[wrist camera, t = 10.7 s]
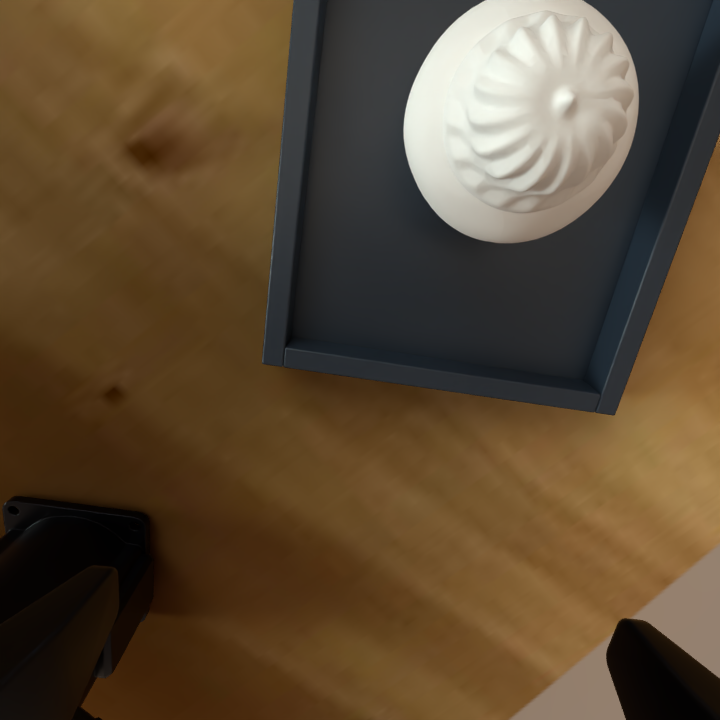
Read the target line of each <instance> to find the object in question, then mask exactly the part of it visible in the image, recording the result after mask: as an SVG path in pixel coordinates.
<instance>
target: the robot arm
mask: <svg viewBox="0 0 720 720" xmlns="http://www.w3.org/2000/svg"><path fill="white" fill-rule="evenodd" d="M16 507H17V508H18V509H17V508H16ZM3 516H4V524H5V532H6V534H5V535H4V536H3V537H2V538H1V539H0V720H102V719H100V718H99V717H98V718H94V717H93V716H92V715H90V714H89V713H88V712H87V711H85V710H84V709H83V708H82V707H81V705H82V703H83V702H84V700H85V698H86V696H87V695H88V693H89V691H90V689H91V687H92V686H93V684H94V682H95V680H96V679H97V677H99V678H107V677H108V676H109V675H111V674H112V673H113V672H114V670H115V668H116V666H117V664H118V662H119V661H120V659H121V657H122V655H123V653H124V651H125V649H126V647H127V646H128V644H129V642H130V640H131V638H132V636H133V634H134V633H135V631H136V629H137V627H138V625H139V623H140V622H142V621H144V620H145V618H146V616H147V614H148V612H149V605H150V603H151V601H152V599H153V577H154V560H153V558H152V556H151V555H150V554H149V518H148V517H147V516H146V515H145V514H143V513H141V512H137V511H129V510H121V509H114V508H106V507H98V506H91V505H83V504H75V503H68V502H60V501H53V500H45V499H37V498H30V497H22V496H14V497H12V498H11V499H9V500H8V501H7V502H6V503H5V504H4V505H3ZM134 522H137V523H138V524H139V525H137V524H135V523H134ZM606 659H607V665H608V668H609V671H610V674H611V677H612V680H613V683H614V686H615V689H616V692H617V695H618V697H619V701H620V703H621V706H622V709H623V712H624V715H625V718H626V720H720V678H718V677H717V676H716V675H714V674H713V673H711V671H709V670H708V669H707V668H706V667H704V666H703V665H702V664H700V663H699V662H698V661H697V660H695V659H694V658H693V657H692V656H690V655H689V654H688V653H686V652H685V651H684V650H683V649H681V648H680V647H679V646H677V645H676V644H675V643H674V642H672V641H671V640H670V639H669V638H667V637H666V636H665V635H663V634H662V633H661V632H660V631H658V630H657V629H656V628H655V627H653V626H652V625H651V624H649V623H648V622H646V621H643V620H637V619H627V618H624V619H622V620H620V621H619V622H618V624H617V626H616V629H615V631H614V634H613V636H612V639H611V641H610V644H609V646H608V649H607V653H606Z"/></svg>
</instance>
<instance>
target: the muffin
mask: <svg viewBox="0 0 720 720" xmlns="http://www.w3.org/2000/svg"><path fill="white" fill-rule="evenodd" d="M638 107H639V91H638V81H637V75H636V71H635V66H634V63H633V60H632V57H631V55H630V52H629V50H628V48H627V46H626V44H625V43H624V41H623V39H622V38H621V36H620V34H619V33H618V32H617V30H616V29H615V28H614V27H613V26H612V24H611V23H610V22H609V21H608V20H607V19H606V18H605V17H604V16H603V15H602V14H601V13H600V12H598V11H597V10H596V9H595V8H593V7H592V6H591V5H589V4H587V3H586V2H584V1H583V0H485V1H483V2H481V3H480V4H478V5H477V6H475V7H473V8H471V9H470V10H469V11H467V12H466V13H464V14H463V15H462V16H461V17H459V18H458V19H457V20H456V21H455V22H454V23H453V24H452V25H451V26H450V27H449V28H448V29H447V30H446V31H445V32H444V33H443V35H442V36H441V37H440V38H439V39H438V41H437V42H436V43H435V45H434V46H433V48H432V49H431V51H430V52H429V54H428V56H427V57H426V59H425V61H424V63H423V64H422V66H421V68H420V70H419V72H418V74H417V77H416V79H415V81H414V83H413V86H412V88H411V91H410V94H409V98H408V101H407V106H406V110H405V117H404V130H403V131H404V145H405V150H406V156H407V159H408V163H409V166H410V169H411V172H412V174H413V177H414V179H415V181H416V183H417V186H418V188H419V190H420V191H421V193H422V195H423V197H424V198H425V199H426V201H427V202H428V203H429V205H430V207H431V208H432V209H433V210H434V211H435V212H436V214H437V215H438V216H439V217H440V218H441V219H442V220H444V221H445V222H446V223H447V224H449V225H450V226H451V227H453V228H454V229H456V230H457V231H459V232H461V233H463V234H465V235H467V236H470V237H472V238H475V239H478V240H482V241H488V242H494V243H519V242H526V241H530V240H535V239H538V238H541V237H544V236H547V235H549V234H552V233H554V232H556V231H558V230H560V229H562V228H563V227H565V226H567V225H568V224H570V223H571V222H573V221H574V220H576V219H577V218H578V217H580V216H581V215H582V214H583V213H585V212H586V211H587V210H588V209H589V208H590V207H591V206H592V205H593V204H594V203H595V202H596V201H597V200H598V199H599V198H600V197H601V196H602V195H603V194H604V192H605V191H606V190H607V189H608V188H609V186H610V185H611V183H612V182H613V180H614V179H615V178H616V176H617V174H618V173H619V171H620V169H621V167H622V166H623V164H624V162H625V159H626V157H627V155H628V153H629V150H630V147H631V144H632V141H633V138H634V134H635V129H636V125H637V118H638Z"/></svg>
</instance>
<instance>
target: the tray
mask: <svg viewBox="0 0 720 720" xmlns="http://www.w3.org/2000/svg"><path fill="white" fill-rule="evenodd" d="M483 1H485V0H294V3H293V14H292V25H291V37H290V48H289V59H288V71H287V82H286V94H285V105H284V116H283V128H282V139H281V151H280V162H279V173H278V185H277V196H276V207H275V219H274V230H273V242H272V253H271V264H270V276H269V287H268V299H267V310H266V321H265V333H264V344H263V355H262V363H263V364H266V365H273V366H280V367H282V366H284V367H286V368H293V369H300V370H307V371H314V372H320V373H327V374H334V375H341V376H348V377H355V378H361V379H368V380H375V381H382V382H389V383H396V384H402V385H409V386H416V387H423V388H430V389H437V390H443V391H450V392H457V393H464V394H471V395H478V396H484V397H491V398H498V399H505V400H512V401H519V402H525V403H532V404H539V405H546V406H553V407H560V408H566V409H573V410H580V411H587V412H596V413H601V414H608V415H615V413H616V410H617V408H618V405H619V402H620V400H621V397H622V394H623V392H624V389H625V386H626V384H627V381H628V378H629V376H630V373H631V370H632V368H633V365H634V362H635V360H636V357H637V354H638V351H639V349H640V346H641V343H642V341H643V338H644V335H645V333H646V330H647V327H648V325H649V322H650V319H651V317H652V314H653V311H654V309H655V306H656V303H657V301H658V298H659V295H660V293H661V290H662V287H663V284H664V282H665V279H666V276H667V274H668V271H669V268H670V266H671V263H672V260H673V258H674V255H675V252H676V250H677V247H678V244H679V242H680V239H681V236H682V234H683V231H684V228H685V225H686V223H687V220H688V217H689V215H690V212H691V209H692V207H693V204H694V201H695V199H696V196H697V193H698V191H699V188H700V185H701V183H702V180H703V177H704V175H705V172H706V169H707V167H708V164H709V161H710V158H711V156H712V153H713V150H714V148H715V145H716V142H717V140H718V137H719V134H720V0H583V1H584V2H586V3H587V4H589V5H591V6H592V7H593V8H595V9H596V10H597V11H598V12H600V13H601V14H602V15H603V16H604V17H605V18H606V19H607V20H608V21H609V22H610V23H611V24H612V26H613V27H614V28H615V29H616V30H617V32H618V33H619V34H620V36H621V38H622V39H623V41H624V43H625V44H626V46H627V48H628V50H629V52H630V55H631V57H632V60H633V63H634V66H635V71H636V75H637V81H638V91H639V107H638V118H637V125H636V129H635V134H634V138H633V141H632V144H631V147H630V150H629V153H628V155H627V157H626V159H625V162H624V164H623V166H622V167H621V169H620V171H619V173H618V174H617V176H616V178H615V179H614V180H613V182H612V183H611V185H610V186H609V188H608V189H607V190H606V191H605V192H604V194H603V195H602V196H601V197H600V198H599V199H598V200H597V201H596V202H595V203H594V204H593V205H592V206H591V207H590V208H589V209H588V210H587V211H586V212H585V213H583V214H582V215H581V216H580V217H578V218H577V219H576V220H574V221H573V222H571V223H570V224H568V225H567V226H565V227H563V228H562V229H560V230H558V231H556V232H554V233H552V234H549V235H547V236H544V237H541V238H538V239H535V240H530V241H526V242H519V243H494V242H488V241H482V240H478V239H475V238H472V237H470V236H467V235H465V234H463V233H461V232H459V231H457V230H456V229H454V228H453V227H451V226H450V225H449V224H447V223H446V222H445V221H444V220H442V219H441V218H440V217H439V216H438V215H437V214H436V212H435V211H434V210H433V209H432V208H431V207H430V205H429V203H428V202H427V201H426V199H425V198H424V197H423V195H422V193H421V191H420V190H419V188H418V186H417V183H416V181H415V179H414V177H413V174H412V172H411V169H410V166H409V163H408V159H407V156H406V150H405V145H404V131H403V130H404V117H405V110H406V106H407V101H408V98H409V94H410V91H411V88H412V86H413V83H414V81H415V79H416V77H417V74H418V72H419V70H420V68H421V66H422V64H423V63H424V61H425V59H426V57H427V56H428V54H429V52H430V51H431V49H432V48H433V46H434V45H435V43H436V42H437V41H438V39H439V38H440V37H441V36H442V35H443V33H444V32H445V31H446V30H447V29H448V28H449V27H450V26H451V25H452V24H453V23H454V22H455V21H456V20H457V19H458V18H459V17H461V16H462V15H463V14H464V13H466V12H467V11H469V10H470V9H471V8H473V7H475V6H477V5H478V4H480V3H481V2H483Z"/></svg>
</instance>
